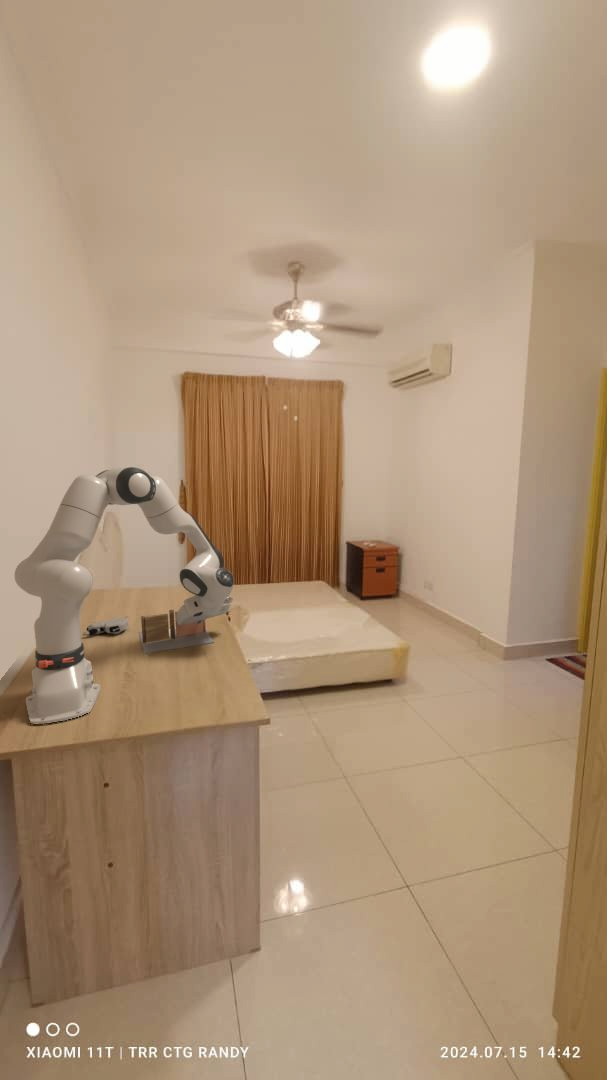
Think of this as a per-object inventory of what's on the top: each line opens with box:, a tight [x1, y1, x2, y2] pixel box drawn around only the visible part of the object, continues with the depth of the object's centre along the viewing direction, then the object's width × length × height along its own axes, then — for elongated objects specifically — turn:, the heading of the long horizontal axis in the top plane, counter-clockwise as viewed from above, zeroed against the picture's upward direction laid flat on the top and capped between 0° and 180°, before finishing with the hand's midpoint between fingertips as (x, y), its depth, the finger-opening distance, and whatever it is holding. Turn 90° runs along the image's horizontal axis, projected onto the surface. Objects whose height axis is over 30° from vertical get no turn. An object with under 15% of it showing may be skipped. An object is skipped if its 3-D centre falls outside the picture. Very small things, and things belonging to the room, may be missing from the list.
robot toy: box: [84, 616, 129, 636], centre depth 183 cm, size 12×4×15 cm
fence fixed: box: [140, 609, 176, 643], centre depth 172 cm, size 2×11×11 cm, turn 113°
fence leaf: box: [174, 610, 207, 637], centre depth 177 cm, size 1×11×10 cm, turn 120°
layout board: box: [138, 627, 215, 655], centre depth 176 cm, size 22×24×1 cm
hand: (197, 622), depth 177 cm, fingers closed
